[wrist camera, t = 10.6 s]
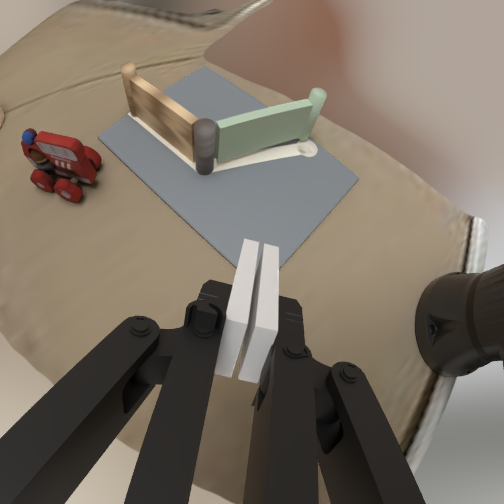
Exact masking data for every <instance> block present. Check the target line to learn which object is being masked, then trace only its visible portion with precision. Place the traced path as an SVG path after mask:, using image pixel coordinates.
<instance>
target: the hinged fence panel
mask: <svg viewBox="0 0 504 504" xmlns="http://www.w3.org/2000/svg"><path fill="white" fill-rule="evenodd" d="M326 97H327V93H326V92H325V91H324V90H323V89H321V88H314V89H312V91H311V94H310V96H309V99H305V100H300V101H295V102H290V103H286V104H281V105H277V106H272V107H268V108H264V109H260V110H256V111H252V112H248V113H244V114H241V115H237V116H233V117H230V118H226V119H223V120H219V121H216V133H215V154H214V156H215V158H216V160H217V162H218V163H219V162H222V161H225V160H228V159H231V158H234V157H237V156H240V155H243V154H246V153H249V152H253V151H256V150H259V149H262V148H266V147H269V146H272V145H276V144H279V143H283V142H286V141H290V140H293V139H297V138H298V139H299V140H302V141H305V140H307V139H308V137H309V135H310V133H311V131H312V128H313V126H314V124H315V121H316V119H317V117H318V115H319V112H320V110H321V108H322V106H323V103H324V101H325V99H326Z"/></svg>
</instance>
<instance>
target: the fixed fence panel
mask: <svg viewBox="0 0 504 504" xmlns="http://www.w3.org/2000/svg"><path fill="white" fill-rule="evenodd" d="M120 70H121V75H122V79H123V83H124V87H125V92H126V96H127V100H128V104H129V108H130V112H131V115H132V116H133V117H138V118H139V119H140V120H142V121H143V122H144V123H145V124H146V125H148V126H149V127H150V128H151V129H153V130H154V131H155V132H156V133H157V134H159V135H160V136H161V137H162V138H164V139H165V140H166V141H167V142H168V143H170V144H171V145H172V146H173V147H174V148H176V149H177V150H178V151H179V152H180V153H182V154H183V155H184V156H185V157H186V158H188V159H189V160H190V161H191V162H192V163H194V162H195V164H196V171H197V172H198V173H199V174H200V175H209V174H211V172H212V171H213V169H214V152H215V132H216V124H215V122H214V121H213V120H211V119H208V118H203V119H198V118H197V117H196V116H194V115H193V114H192V113H190V112H189V111H188V110H186V109H185V108H183V107H182V106H181V105H179V104H178V103H176V102H175V101H174V100H172V99H171V98H169V97H168V96H167V95H165V94H164V93H162V92H161V91H159V90H158V89H157V88H155V87H154V86H152V85H151V84H149V83H148V82H146V81H145V80H143V79H142V78H140V77H139V76H138V75H137V74H136V68H135V64H134V63H133V62H127V63H124V64H122V65H121V67H120Z"/></svg>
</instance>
